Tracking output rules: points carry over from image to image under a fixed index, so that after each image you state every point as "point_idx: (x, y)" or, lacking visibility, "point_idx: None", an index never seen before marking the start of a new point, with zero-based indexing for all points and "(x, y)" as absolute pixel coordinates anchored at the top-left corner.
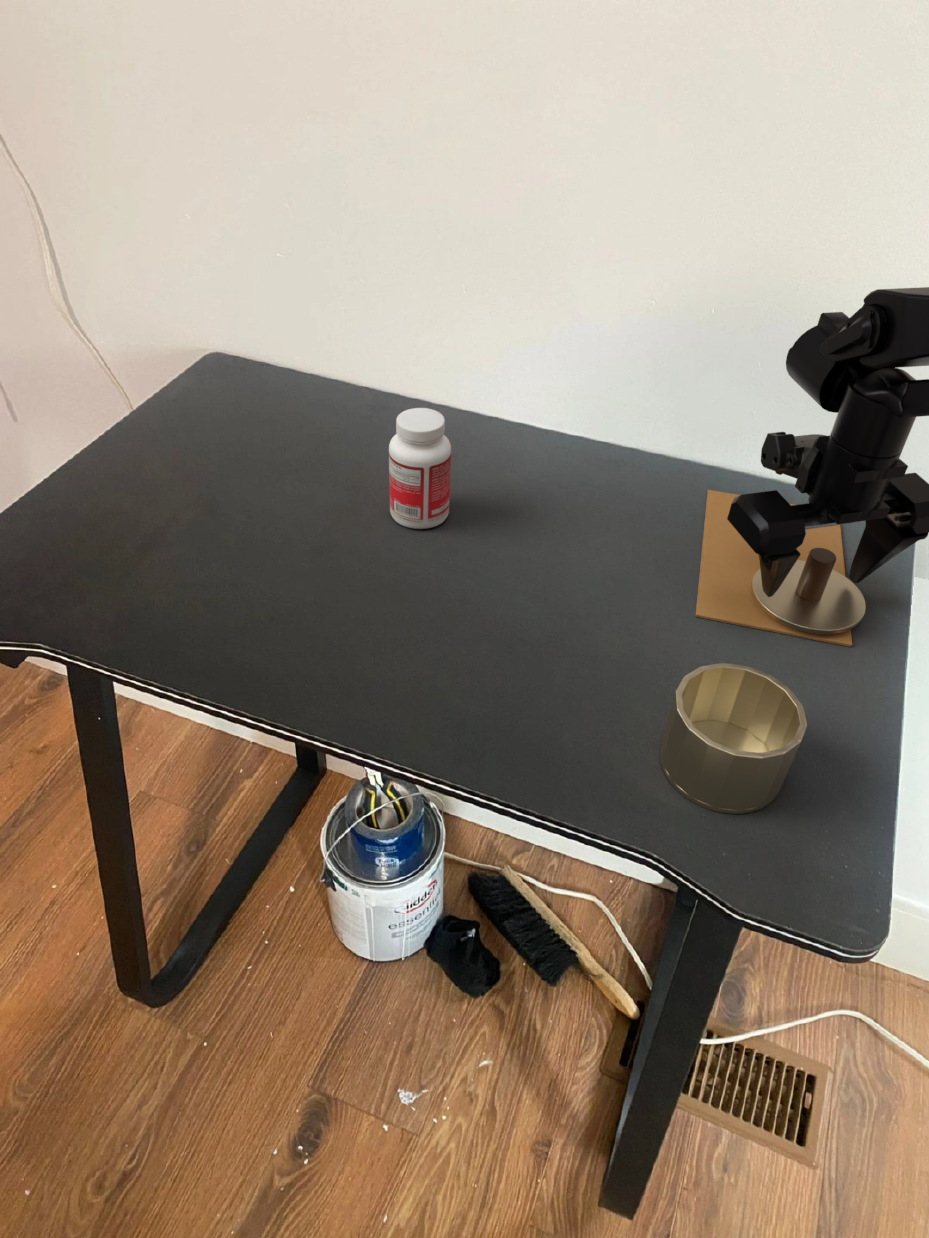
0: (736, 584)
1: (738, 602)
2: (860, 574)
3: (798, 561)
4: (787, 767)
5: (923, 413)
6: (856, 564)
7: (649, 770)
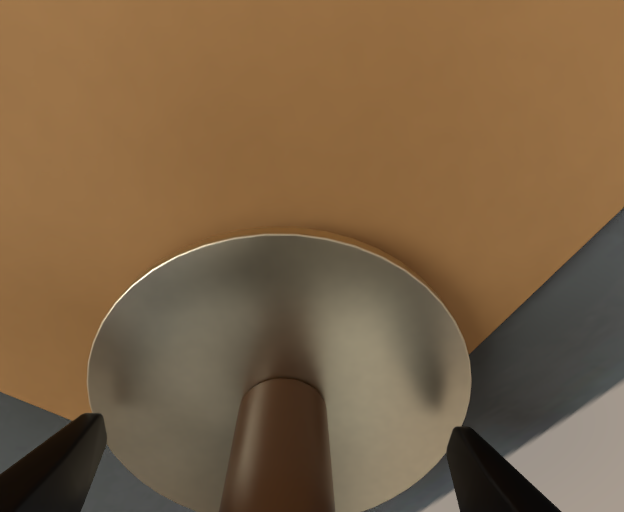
0: (85, 254)
1: (59, 332)
2: (462, 507)
3: (368, 264)
4: None
5: None
6: (483, 500)
7: None
